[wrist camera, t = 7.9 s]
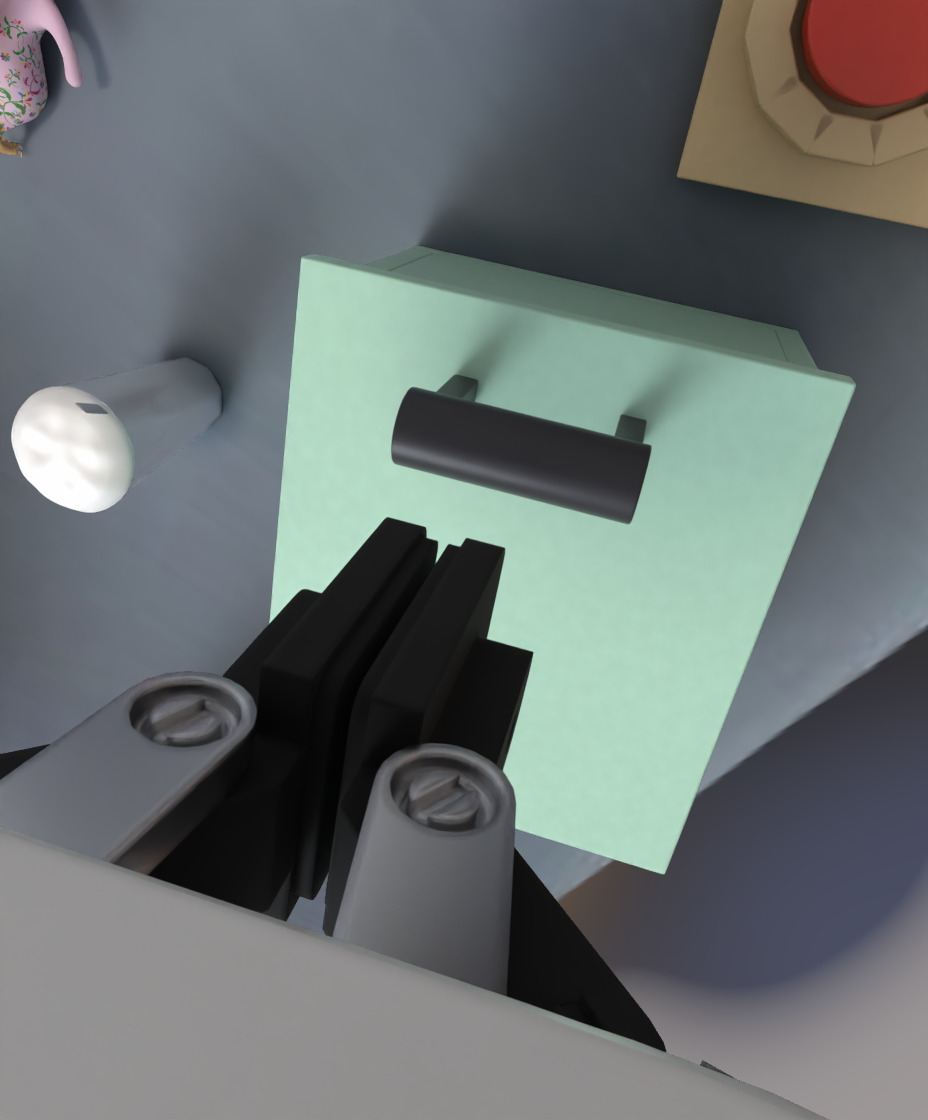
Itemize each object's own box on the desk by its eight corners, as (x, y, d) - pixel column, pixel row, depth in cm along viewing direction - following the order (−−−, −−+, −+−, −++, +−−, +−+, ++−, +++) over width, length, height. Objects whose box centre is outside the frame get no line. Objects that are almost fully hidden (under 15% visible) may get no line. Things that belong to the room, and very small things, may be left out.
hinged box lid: (312, 253, 24) (211, 281, 19) (852, 376, 22) (897, 444, 17) (267, 735, 31) (187, 846, 26) (665, 858, 29) (658, 1002, 24)
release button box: (774, -193, 26) (785, -239, 23) (1100, -146, 24) (1158, -187, 21) (677, 175, 30) (675, 178, 27) (947, 230, 29) (976, 241, 26)
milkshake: (268, 384, 37) (134, 459, 28) (199, 464, 39) (56, 556, 31) (188, 304, 36) (25, 355, 28) (123, 390, 39) (-46, 462, 30)
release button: (834, -89, 24) (844, -105, 22) (1002, -62, 23) (1024, -76, 22) (779, 92, 26) (784, 88, 24) (933, 121, 25) (948, 120, 24)
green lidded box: (416, 244, 33) (310, 283, 24) (798, 330, 31) (840, 406, 22) (365, 601, 40) (268, 735, 31) (672, 688, 39) (665, 857, 29)
